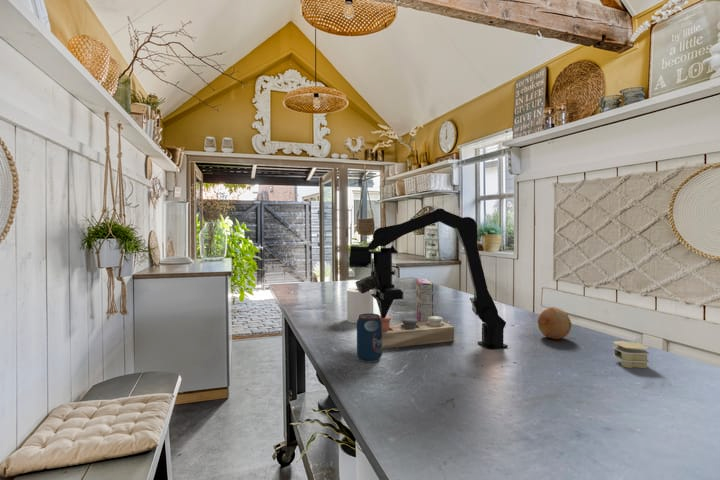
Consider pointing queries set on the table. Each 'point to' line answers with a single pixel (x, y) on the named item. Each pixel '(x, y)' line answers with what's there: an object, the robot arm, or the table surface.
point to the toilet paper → (358, 304)
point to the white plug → (435, 320)
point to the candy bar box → (424, 299)
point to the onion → (554, 323)
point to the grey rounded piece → (409, 323)
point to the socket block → (416, 334)
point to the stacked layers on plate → (631, 354)
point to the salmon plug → (385, 323)
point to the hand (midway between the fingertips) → (383, 317)
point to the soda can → (369, 337)
